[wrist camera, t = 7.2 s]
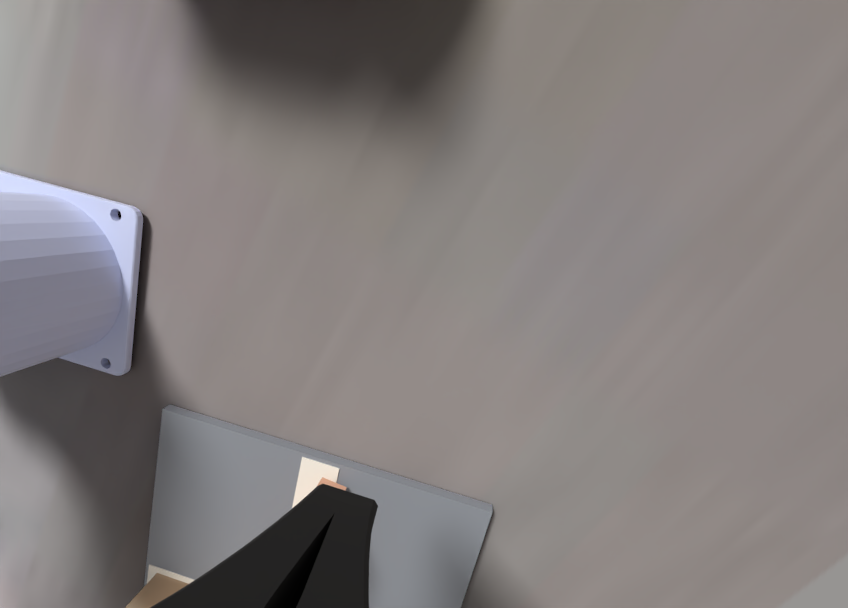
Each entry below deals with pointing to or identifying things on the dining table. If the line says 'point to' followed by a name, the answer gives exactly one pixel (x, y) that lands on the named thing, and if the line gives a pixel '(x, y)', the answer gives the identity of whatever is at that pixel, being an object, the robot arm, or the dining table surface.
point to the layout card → (282, 490)
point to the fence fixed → (156, 591)
